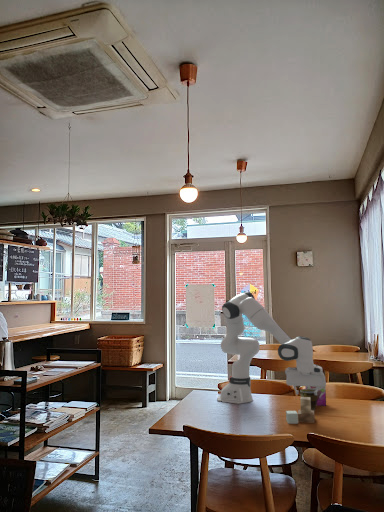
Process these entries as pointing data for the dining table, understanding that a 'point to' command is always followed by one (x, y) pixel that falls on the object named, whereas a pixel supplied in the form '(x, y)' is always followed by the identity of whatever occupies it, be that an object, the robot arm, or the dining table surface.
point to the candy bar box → (319, 395)
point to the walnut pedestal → (306, 417)
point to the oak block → (305, 405)
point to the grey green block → (292, 417)
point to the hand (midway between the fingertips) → (306, 394)
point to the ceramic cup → (310, 394)
